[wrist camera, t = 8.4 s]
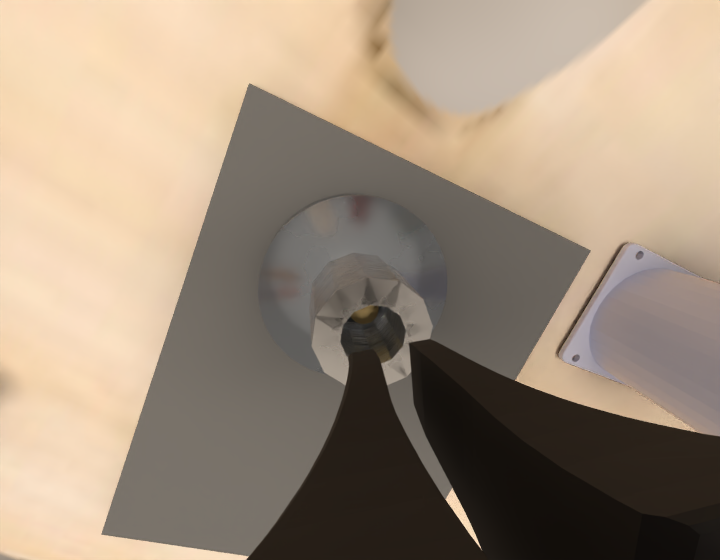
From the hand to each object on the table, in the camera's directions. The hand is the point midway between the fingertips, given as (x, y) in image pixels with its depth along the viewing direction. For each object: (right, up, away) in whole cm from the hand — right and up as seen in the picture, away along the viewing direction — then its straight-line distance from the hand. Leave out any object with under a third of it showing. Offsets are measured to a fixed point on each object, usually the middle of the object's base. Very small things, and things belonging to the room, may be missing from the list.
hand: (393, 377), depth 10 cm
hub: (-1, +2, +8) cm, 8 cm away
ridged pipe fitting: (-1, +2, +7) cm, 7 cm away
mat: (-2, -3, +11) cm, 11 cm away
